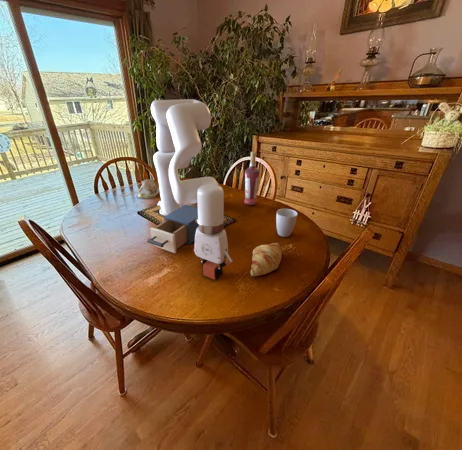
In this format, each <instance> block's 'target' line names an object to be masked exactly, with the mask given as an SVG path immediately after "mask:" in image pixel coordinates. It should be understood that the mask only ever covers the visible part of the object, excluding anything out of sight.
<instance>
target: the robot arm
mask: <svg viewBox="0 0 462 450" xmlns="http://www.w3.org/2000/svg"><path fill="white" fill-rule="evenodd" d="M150 112H151V116H152V118H153V120H154V122H155V127H156V130H155V133H156V137H155V139H156V147H157V151H156V152H155V153H154V154H153V160H152V161H153V164H154V168H155V171H156V176H157V181H158V188H159V189H160V191H159V196H160V200H158V203H157V204H156V206H157V207H160V209H159V214H160V215H161V216H163V217H165V216H166V215H168V214H170V213H171V212H173V211H175V210H176V209H178V208H180V207H181V206H183V205H189V206H191V205H196V204H197V205H196V207H198V219H196V223H198V228H197V229H196V234H195V240H194V247H193V249H192V253H194V254H195V256H196V257H197V258H198V259H199V262H200V264H201V269H202V270H201V272H202V273H203V264H204V263H205V262H206V261H207V260H208V261H211V262H214V263H216V265H217V268H216V279H219V277H221V276H222V275H223V273H224V270H223V269H224V267H226V266H229V265H232V263H233V259H232V258H231V256H230V254H229V244H228V237H227V232H226V229H225V228H224V224H225V222H224V221H225V219H224V217H225V215H224V214H225V211H224V210H225V206H224V205H225V192H224V188H223V187H222V186H221V185H219V183H218V181H217V180H216V178H214V177H213V176H203V177H195V178H188V179H183V180H181V178H180V174H179V170H182V169H186V168H188V167H189V166H190V164H191V160H192V158H194V157H195V156H197V155H198V154H199V153H200V152H201V150H202V147H203V145H202V141H201V138H200V136H199V132H198V131H203V130H207V129H209V127H210V126H211V123H212V115H211V111H210V109H209V107H208V106H207V104H206V103H205V102H203V101H200V100H197V99H193V98H189V99H188V98H187V99H185V98H184V99H182V98H181V99H154V100H153V101H152V102H151V104H150Z"/></svg>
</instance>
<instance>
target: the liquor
mask: <svg viewBox="0 0 462 450" xmlns="http://www.w3.org/2000/svg"><path fill="white" fill-rule="evenodd" d="M256 157H257V151H250V160H249V161H250V162H249V167H247V168H245V170H244V201H243V203H244V204H245V205H247V206H249V207H252V206H255V205H256V204H257V203H258V201H257V196H258V187H259V186H258V185H259V180H260V169H259V168H258V167H256Z"/></svg>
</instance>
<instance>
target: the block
mask: <svg viewBox="0 0 462 450" xmlns="http://www.w3.org/2000/svg"><path fill="white" fill-rule="evenodd" d="M216 268H217V265H216V263H214V262H211V261H208V260H207V261H206V262H205V263H204V264H203V272H202V275H203V276H205V277H207V278H209V279H212V280H216V279H217V278H216Z"/></svg>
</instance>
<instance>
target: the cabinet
mask: <svg viewBox="0 0 462 450" xmlns="http://www.w3.org/2000/svg"><path fill="white" fill-rule="evenodd" d="M180 206H181V207H180V208H178V209H176V210H175V211H173V212H171V213H170V214H168V215H166V216H163V219H164V221H166V220H167V219H168V220H171V221H175V222H178V223H182V224H186V225H187V231H188V241H186V242H185V243H184V244H188V245H191V244H192V243H194V242H195V234H196V229H197V228H198V223H196V219H198V206H193V205H180Z"/></svg>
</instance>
